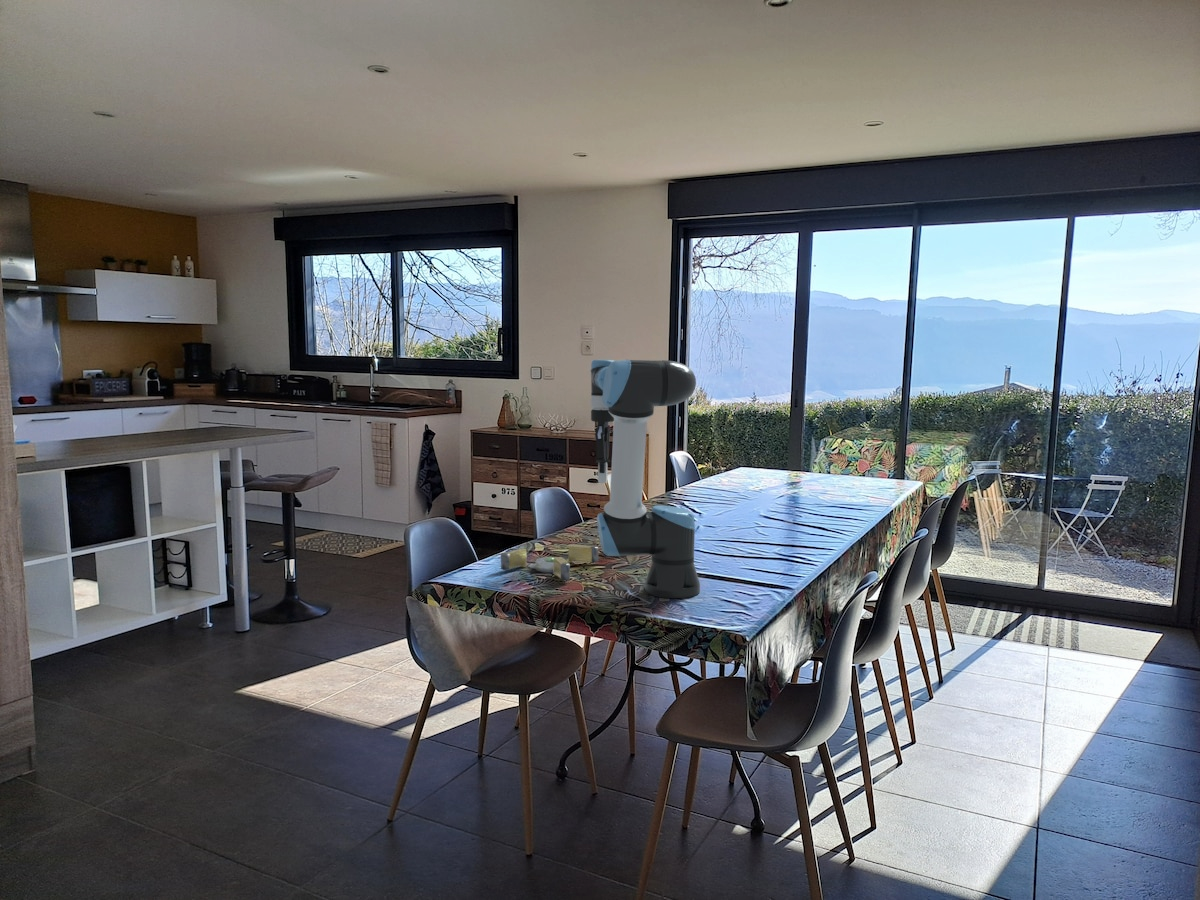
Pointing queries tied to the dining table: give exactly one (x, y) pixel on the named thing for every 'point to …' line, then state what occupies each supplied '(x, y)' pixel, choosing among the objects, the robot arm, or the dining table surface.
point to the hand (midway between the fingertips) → (602, 482)
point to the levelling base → (544, 565)
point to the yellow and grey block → (514, 559)
